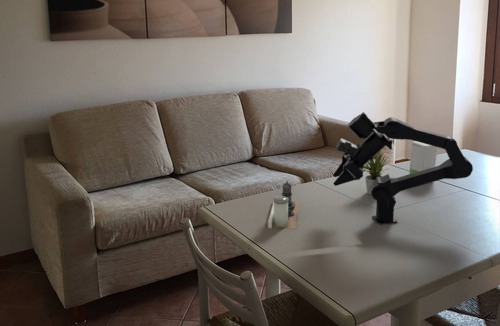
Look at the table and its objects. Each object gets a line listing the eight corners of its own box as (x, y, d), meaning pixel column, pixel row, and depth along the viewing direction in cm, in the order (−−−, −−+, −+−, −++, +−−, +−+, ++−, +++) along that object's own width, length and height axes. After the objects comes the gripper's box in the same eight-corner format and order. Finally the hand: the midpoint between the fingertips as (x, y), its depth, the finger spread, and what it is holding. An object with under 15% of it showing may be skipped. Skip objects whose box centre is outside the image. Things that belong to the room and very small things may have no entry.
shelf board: (300, 205, 197) (300, 202, 197) (296, 232, 173) (296, 228, 173) (275, 204, 198) (275, 201, 198) (268, 231, 174) (268, 228, 174)
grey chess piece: (284, 209, 189) (284, 177, 186) (298, 213, 186) (299, 180, 182) (274, 214, 185) (274, 181, 182) (289, 218, 181) (289, 184, 178)
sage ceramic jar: (290, 226, 175) (290, 200, 172) (275, 228, 174) (275, 201, 171) (286, 221, 179) (286, 195, 177) (272, 222, 178) (271, 196, 176)
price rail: (277, 204, 198) (277, 196, 197) (271, 231, 174) (271, 222, 174) (274, 204, 198) (274, 196, 198) (267, 231, 175) (267, 222, 174)
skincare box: (408, 178, 225) (410, 141, 221) (420, 175, 228) (423, 139, 224) (422, 183, 218) (425, 145, 214) (435, 181, 221) (438, 143, 216)
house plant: (362, 184, 219) (363, 144, 214) (396, 189, 212) (398, 148, 208) (350, 194, 207) (351, 153, 202) (386, 200, 200) (388, 157, 196)
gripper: (350, 125, 184) (317, 156, 188) (353, 137, 166) (316, 171, 170) (373, 148, 185) (339, 178, 189) (378, 162, 167) (341, 196, 171)
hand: (334, 180), depth 180 cm, fingers open, 9 cm apart
